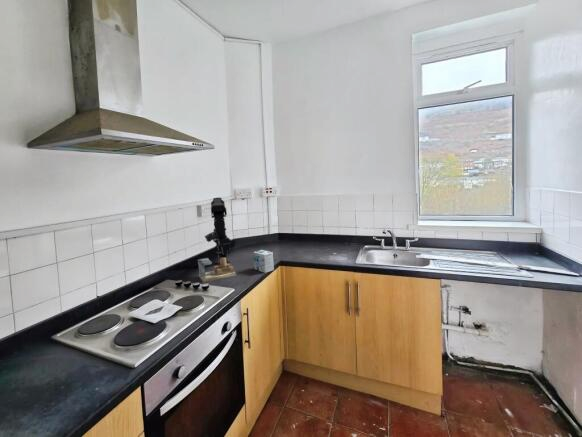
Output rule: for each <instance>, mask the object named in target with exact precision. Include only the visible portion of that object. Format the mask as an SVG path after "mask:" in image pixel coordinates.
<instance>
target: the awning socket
mask: <svg viewBox="0 0 582 437" xmlns="http://www.w3.org/2000/svg"><path fill="white" fill-rule="evenodd" d="M197 264H198V276H199V278H200V280H201V281H202V283H207V282H212V281H216V280H221V279H225V278H230V277H235V276H237V272H236V271H235V267H234V266H233V265H232V264H231V263H227V268H222V269H221V268H220V264H218V265H215V266H213V270H212V271H205V270H206V269H205V266H209V265H212V264H213V262H212V261H211V260H210V259H209V257H205V258H200V259H197Z"/></svg>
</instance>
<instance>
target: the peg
mask: <svg viewBox="0 0 582 437" xmlns="http://www.w3.org/2000/svg"><path fill="white" fill-rule="evenodd" d="M227 264H228V263H226V258H220V264H219V265H220V268H221V269H222V268H227Z"/></svg>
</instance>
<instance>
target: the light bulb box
mask: <svg viewBox="0 0 582 437" xmlns="http://www.w3.org/2000/svg"><path fill="white" fill-rule="evenodd" d="M253 265H254V270H256V271H259V272H262V273H265V274H266V273H269V272H272V271H274V270H275V266H274V252H273V251H269V250H264V249H260V250H256V251H253Z"/></svg>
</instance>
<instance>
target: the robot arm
mask: <svg viewBox="0 0 582 437" xmlns="http://www.w3.org/2000/svg"><path fill="white" fill-rule="evenodd" d="M210 205H211V206H210V212H211V219H213V227H214V228H213V231H212V232H210V233H208V234H206V235H204V238H205V240H206V242H208V243H209V242H212V241H213V242H214V243H215V247H214V248H215V256H218V257H217V258H218V261H217V263H218V265H220V258H226V263H227V264H230V261H229V260H228V259H229V258H228V254H230V253H231V247H230V245H231V243H232V240H231V239H230V237H228V235H227V232H226V231H227V228H226V222H225V217H227V216H228V213H227V207H226V205H225V201H224V200H223V199H222V197H214V198H213V199H212V201H211V202H210Z"/></svg>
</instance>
